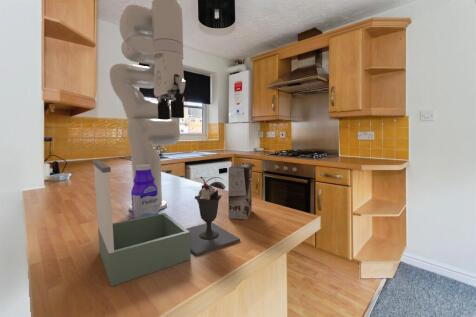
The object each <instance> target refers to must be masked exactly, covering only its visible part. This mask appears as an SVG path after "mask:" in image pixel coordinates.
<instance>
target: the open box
mask: <svg viewBox="0 0 476 317" xmlns="http://www.w3.org/2000/svg"><path fill="white" fill-rule="evenodd" d="M91 163H92V164H93V177H94V188H95V202H96V217H97V232H98V234H97V235H98V247H99V254H100V258H101V260H102V263H103V267H104V269H105V272H106V276H107V279H108V282H109V284H110V287H115V286H117V285H120V284H122V283H125V282H128V281H132V280H134V279H138V278H140V277H143V276H146V275H149V274H152V273H156V272H157V271H160V270H163V269H167V268H169V267H174V266H175V265H178V264H181V263H184V262H187V261H190V260H191V253H192V252H191V251H190V232H189V231H188V230H187V229H186V228H185V227H184V226H183V225H182V224H180V223H179V222H177V221H176V220H175V219H174V218H173V217H171V216H170V215H169V214H167V213H166V212H162V213H159V214H157V215H152V216H147V217H142V218H137V219H133V218H132V219H128V220H123V221H118V222H113V211H112V210H113V209H112V196H111V195H112V194H111V192H112V191H111V177H110V176H111V175H110V173H112V171H111V170H112V169H111V166H109V165H108V164H106V163H105V162H103V161H101V159H92V162H91Z"/></svg>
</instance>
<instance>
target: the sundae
mask: <svg viewBox="0 0 476 317" xmlns="http://www.w3.org/2000/svg"><path fill="white" fill-rule="evenodd" d="M200 179H201V180H202V181H203V185H201V189H200V190H199V191H198V195H195V196H194V200H196V201H197V204H198V210H199V214H200V215H199V216H200V218H201V220H202V221H203V222H205V223H207V229H206V231H205V232H202V233H200V235H199V237H200V238H202V239H207V240H209V239H215V238H217V237H218V236H219V234H218V232H216V231H212V229H211V222H212V223H213V222H214V221H215V220H216V218H217V216H218V210H219V202H220V200H221V198H222V195H221V194H219V190H218V189H216V190H215V188H214V187H213V186H211V185H209V184H208V183H206V181H205V179H204V177H203V176H200Z"/></svg>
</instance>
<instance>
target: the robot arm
mask: <svg viewBox="0 0 476 317" xmlns="http://www.w3.org/2000/svg"><path fill="white" fill-rule="evenodd" d="M183 26H184V25H183V8H182V5H181V3H180V2H179V1H178V0H152V1H151V8H148V7H145V6H142V5H137V4H129V5H127V6H126V7H125V8H124V9H123V11H122V13H121V15H120V19H119V32H120V36H121V38H122V40H123V41H122V43H121V46H120V48H121V53H122V55H123V57H124V58H125V59H127V60H128V61H130V62H132V63H139V64H144V65H149V66H144V65H139V64H138V65H137V64H131V63H115V64H113V65H112V66H111V67H110V69H109V80H110V84H111V87H112V90H113V91H114V93H115V95H116V96H117V98H118V99H119V101H120V102H121V105H122V107H123V111H124V113H125V116H126V118H127V121H128V124H127V126H126V127H127V128H126V130H127V131H126V132H127V136H128V142H129V148H130V152H131V153H130V154H131V170H132V171H131V172H132V187H133V186H134V184H135V183H134V181H133V180H134V178H135V175H136V165H141V164H150V165H151V173H152V176H153V177H154V179H155V180H154V183H155V185H156V187H157V191H158V211H160V210H162V209H164V208H166V207H167V201H165V200H164V199H163V194H162V193H163V192H162V191H163V190H162V161H161V157H160V154H159V153H158V152H157V151H156V149H155V148H154V146H155V147H156V146H172V145H175V144H177V143H178V142H179V140H180V139H181V138H180V136H181V131H180V127H179V124H178V122H177V120H176V119H183V118H185V94H186V91H185V88H186V80H185V76H184V74H185V73H184V64H183V60H184V36H183V35H184V32H183V30H184V29H183ZM138 88H142V89H153V94H154V96H155V98H156V100H157V101H155V100H147V99H146V98H145V96H144V94H143V93H142V92H141V91H140V90H139V89H138ZM170 99H171V100H170ZM169 103H170V105H169ZM128 208H129V211H130V212H133V210H132V203H130V204H129V207H128Z"/></svg>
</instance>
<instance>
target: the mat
mask: <svg viewBox="0 0 476 317" xmlns="http://www.w3.org/2000/svg"><path fill="white" fill-rule="evenodd" d="M185 229H187V230H188V231H189V232H190V253H192V254H193V255H194V256H196V257H198V256H200V255H204V254H207V253H209V252H212V251H215V250H218V249H221V248H224V247H227V246H230V245H233V244H236V243H238V242H241V238H240V237H238V236H237V235H234V234H233V233H231V232H229V231H227V230H226V229H224V228H223V227H221V226H219V225H217V224H216V223H214V222H213V221H212V222H211V229H212V231H216V232H218V234H219V236H218V237H217V238H215V239H209V240H207V239H202V238H200V237H199V235H200V233H202V232H205V231H206V229H207V223H206V222H205V223H202V224H198V225H194V226H191V227H186V228H185Z"/></svg>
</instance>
